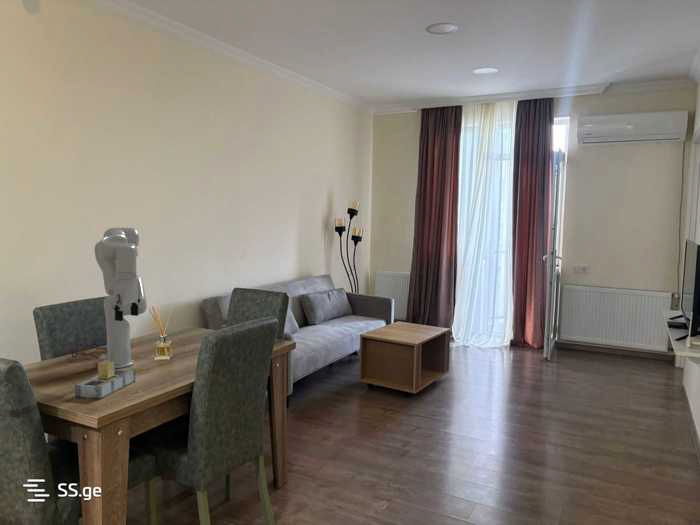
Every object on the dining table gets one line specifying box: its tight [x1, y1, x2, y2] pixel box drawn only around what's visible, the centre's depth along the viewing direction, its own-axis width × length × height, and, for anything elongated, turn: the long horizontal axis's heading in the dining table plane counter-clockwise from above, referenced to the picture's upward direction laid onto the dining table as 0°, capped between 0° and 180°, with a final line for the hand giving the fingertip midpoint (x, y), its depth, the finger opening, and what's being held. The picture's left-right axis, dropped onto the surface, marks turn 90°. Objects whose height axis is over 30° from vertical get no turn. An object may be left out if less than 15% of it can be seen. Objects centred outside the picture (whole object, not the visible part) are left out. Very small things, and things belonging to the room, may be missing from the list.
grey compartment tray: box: [74, 368, 136, 400], centre depth 201 cm, size 10×22×4 cm, turn 169°
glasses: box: [71, 342, 107, 359], centre depth 250 cm, size 13×13×5 cm
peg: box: [97, 360, 115, 380], centre depth 201 cm, size 4×4×10 cm
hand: (126, 317), depth 211 cm, fingers open, 9 cm apart
